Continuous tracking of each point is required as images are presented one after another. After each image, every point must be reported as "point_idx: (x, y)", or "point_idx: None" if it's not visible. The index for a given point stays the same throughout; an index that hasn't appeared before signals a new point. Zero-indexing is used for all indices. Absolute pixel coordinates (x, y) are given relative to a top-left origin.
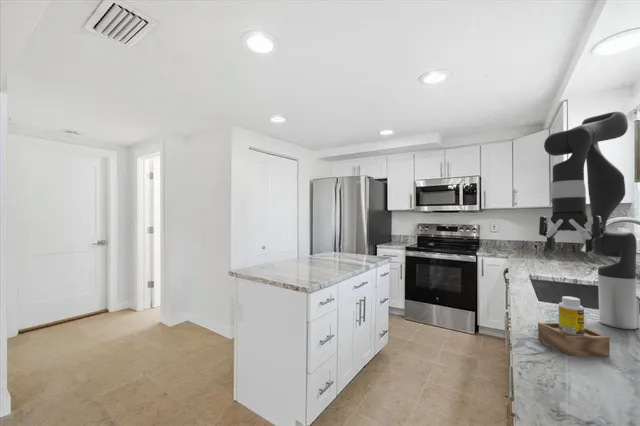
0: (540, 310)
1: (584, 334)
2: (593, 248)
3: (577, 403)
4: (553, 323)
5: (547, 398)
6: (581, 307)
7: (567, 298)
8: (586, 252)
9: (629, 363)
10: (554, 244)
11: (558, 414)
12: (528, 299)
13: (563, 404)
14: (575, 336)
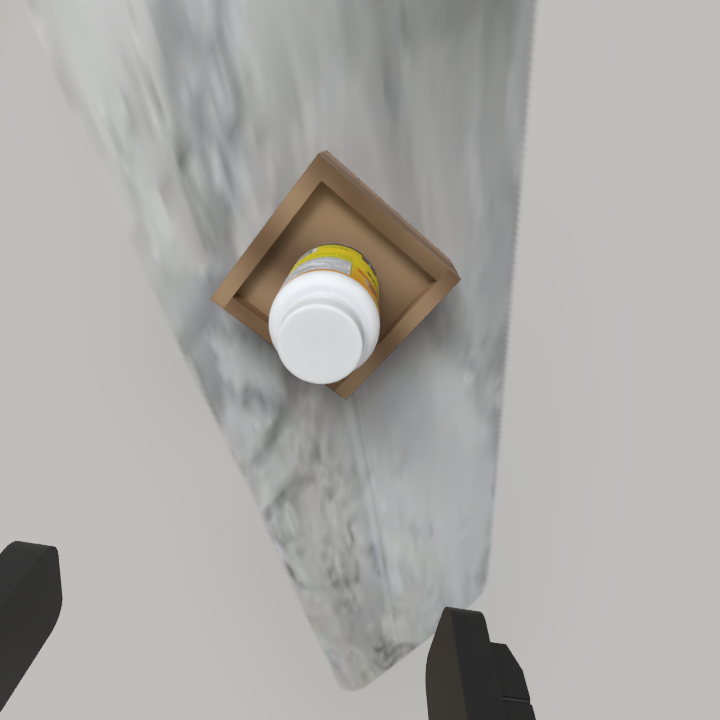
0: None
1: (376, 260)
2: (512, 693)
3: (405, 605)
4: (258, 254)
5: (362, 623)
6: (372, 344)
7: (309, 376)
8: (432, 665)
9: (500, 282)
10: (1, 625)
11: (386, 654)
12: None
13: (387, 623)
14: (362, 373)
